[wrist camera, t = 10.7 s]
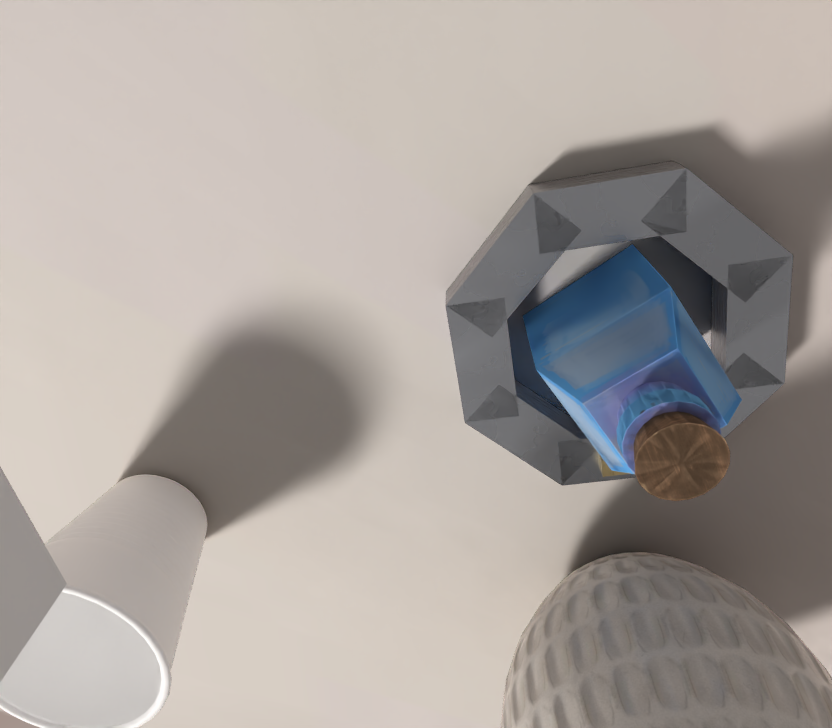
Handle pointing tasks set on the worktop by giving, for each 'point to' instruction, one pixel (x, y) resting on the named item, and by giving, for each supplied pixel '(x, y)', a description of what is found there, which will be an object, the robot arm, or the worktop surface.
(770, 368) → the ring
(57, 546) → the cup
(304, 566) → the worktop surface
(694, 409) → the perfume bottle
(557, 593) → the vase
